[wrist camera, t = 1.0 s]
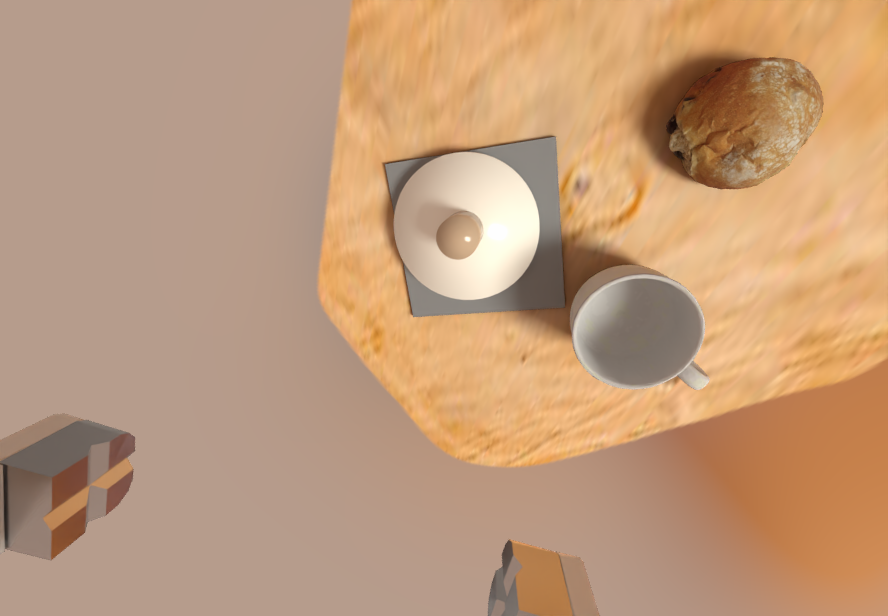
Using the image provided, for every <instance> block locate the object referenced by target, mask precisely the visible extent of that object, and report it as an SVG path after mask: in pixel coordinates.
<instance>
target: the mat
mask: <svg viewBox="0 0 888 616" xmlns="http://www.w3.org/2000/svg"><path fill="white" fill-rule="evenodd" d="M463 152H477V153H482V154H486V155H489V156H492V157H495V158H497V159H499V160H501V161H503V162H505V163H506V164H507V165H509V166H510V167H512V168H513V169H514V170H515V171H516V172H517V173H518V174H519V175H520V176H521V177H522V178H523V180H524V181H525V182H526V183H527V185H528V187H529V188H530V190H531V192H532V194H533V196H534V199H535V201H536V205H537V208H538V213H539V226H540V232H539V240H538V245H537V248H536V252H535V254H534V257H533V259H532V261H531V263H530V265H529V266H528V268H527V269H526V271H525V272H524V273H523V275H522V276H521V277H520V278H519V279H518V280H517V281H516V282H515V283H514V284H512V285H511V286H510V287H508V288H507V289H505V290H503V291H502V292H500V293H498V294H495V295H493V296H490V297H486V298H483V299H476V300H461V299H454V298H450V297H446V296H443V295H441V294H438V293H436V292H434V291H432V290H430V289H429V288H427V287H426V286H425V285H423V284H422V283H421V282H420V281H418V280H417V279H416V278H415V277H414V275H413V274H412V273H411V272H410V271H409V269H408V268H407V267H406V265H405V264H404V262H403V264H404V269H405V275H406V280H407V286H408V291H409V296H410V302H411V307H412V313H413V317H422V316H438V315H454V314H470V313H486V312H502V311H517V310H533V309H549V308H565V298H564V279H563V261H562V242H561V224H560V205H559V186H558V168H557V149H556V137H550V138H544V139H538V140H531V141H525V142H519V143H513V144H507V145H501V146H494V147H488V148H482V149H476V150H470V151H463ZM457 153H458V152H457ZM445 155H447V154H445ZM441 156H443V155H439V156H433V157H426V158H420V159H414V160H408V161H402V162H395V163H389V164H385V167H386V172H387V178H388V183H389V189H390V194H391V199H392V205H393V210H394V214H395V209H396V205H397V201H398V199H399V196H400V194H401V191H402V190H403V188H404V186H405V184H406V183H407V182H408V180H409V179H410V178H411V176H412V175H413V174H414V173H415V172H416V171H417V170H418V169H420V168H421V167H422V166H424V165H425V164H426V163H428V162H430V161H432V160H434V159H436V158H438V157H441Z"/></svg>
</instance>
